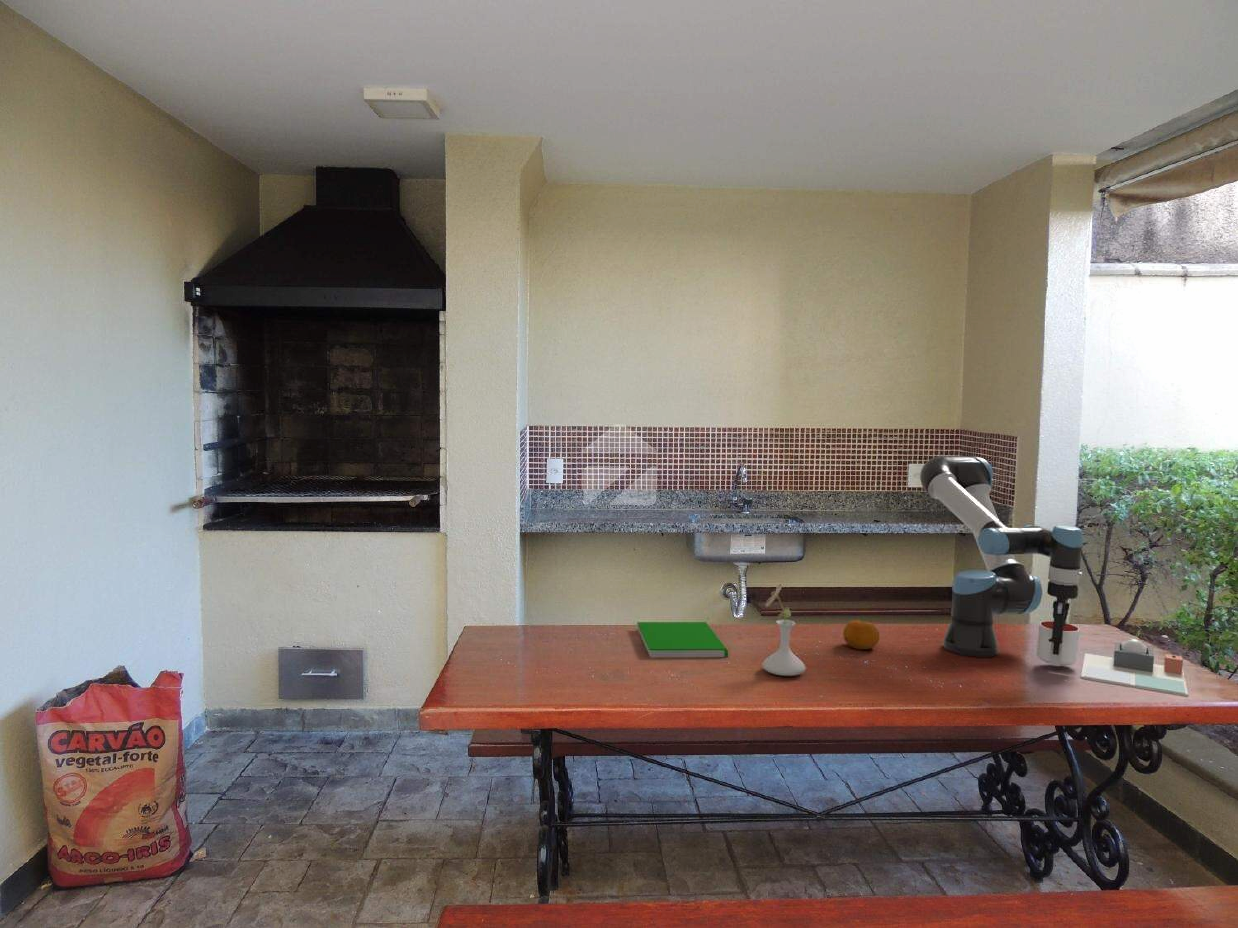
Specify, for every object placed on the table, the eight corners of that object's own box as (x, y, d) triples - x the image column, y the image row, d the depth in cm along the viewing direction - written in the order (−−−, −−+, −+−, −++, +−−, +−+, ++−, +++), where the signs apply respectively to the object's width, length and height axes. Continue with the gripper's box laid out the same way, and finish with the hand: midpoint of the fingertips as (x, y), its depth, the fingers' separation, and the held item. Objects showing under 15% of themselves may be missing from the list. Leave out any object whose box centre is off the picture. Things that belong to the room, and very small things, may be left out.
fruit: (883, 646, 253) (884, 620, 253) (873, 654, 244) (874, 627, 244) (848, 640, 259) (850, 614, 258) (837, 648, 250) (839, 621, 249)
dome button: (1120, 662, 238) (1122, 640, 238) (1120, 657, 243) (1122, 635, 243) (1145, 666, 235) (1147, 643, 235) (1145, 661, 240) (1147, 638, 240)
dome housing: (1113, 665, 238) (1114, 650, 237) (1113, 657, 246) (1115, 642, 245) (1152, 672, 233) (1154, 656, 233) (1151, 663, 241) (1153, 648, 241)
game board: (1081, 677, 228) (1082, 660, 228) (1085, 654, 249) (1086, 638, 249) (1187, 696, 216) (1189, 677, 215) (1182, 670, 237) (1183, 653, 237)
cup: (1081, 668, 231) (1084, 633, 229) (1042, 665, 233) (1045, 629, 231) (1069, 656, 240) (1073, 622, 239) (1032, 653, 242) (1035, 619, 241)
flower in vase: (778, 663, 234) (781, 574, 232) (813, 673, 226) (817, 581, 224) (749, 673, 225) (753, 580, 223) (785, 684, 217) (789, 588, 215)
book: (649, 659, 236) (649, 649, 236) (636, 631, 264) (637, 622, 264) (727, 659, 239) (728, 648, 238) (707, 631, 266) (707, 622, 266)
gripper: (1076, 592, 222) (1068, 674, 225) (1080, 576, 242) (1073, 651, 244) (1044, 588, 226) (1037, 668, 229) (1051, 572, 246) (1044, 646, 248)
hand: (1056, 659), depth 236 cm, fingers closed on cup, 10 cm apart
